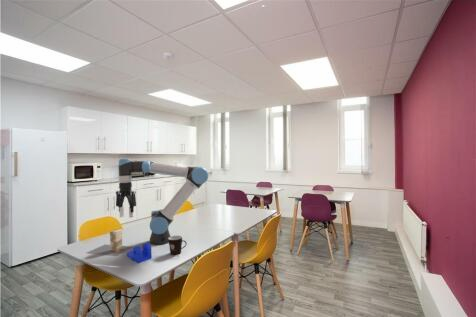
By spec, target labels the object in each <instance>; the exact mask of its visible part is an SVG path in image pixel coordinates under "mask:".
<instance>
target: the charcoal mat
mask: <svg viewBox="0 0 476 317" xmlns="http://www.w3.org/2000/svg"><path fill="white" fill-rule="evenodd" d="M131 249H133V245H132V246H131V245H122V250H120V251H118V252H111V251H110V244H103V245H101V246H98V247H97V248H94V249H91V250H89V251H87V252H86V254H88V255H89V254H91V255H100V256H114V257H117V256H119V255H121V254H123V253H125V252H126V251H128V250H131Z"/></svg>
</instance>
